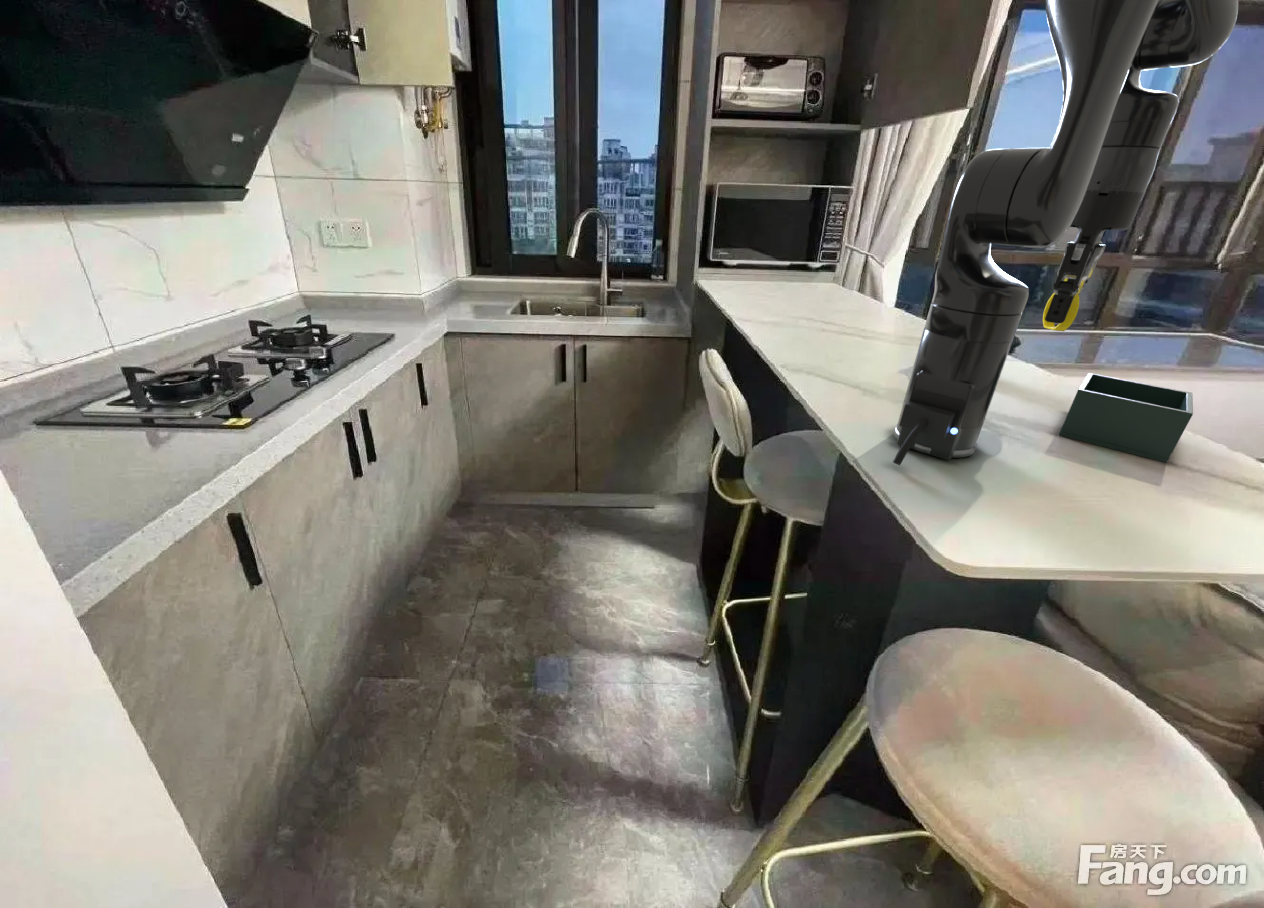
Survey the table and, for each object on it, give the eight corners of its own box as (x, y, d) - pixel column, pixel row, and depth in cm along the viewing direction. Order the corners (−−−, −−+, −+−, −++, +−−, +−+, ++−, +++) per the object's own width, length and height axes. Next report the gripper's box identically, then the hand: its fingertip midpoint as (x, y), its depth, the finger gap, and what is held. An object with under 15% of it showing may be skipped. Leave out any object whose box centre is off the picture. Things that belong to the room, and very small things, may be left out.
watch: (1074, 335, 75) (1092, 291, 73) (1052, 333, 76) (1069, 290, 73) (1053, 326, 81) (1069, 285, 78) (1033, 324, 81) (1048, 283, 78)
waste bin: (1166, 462, 67) (1193, 413, 64) (1058, 435, 74) (1078, 389, 71) (1168, 437, 75) (1192, 392, 72) (1070, 414, 81) (1088, 372, 78)
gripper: (1079, 190, 77) (1035, 309, 85) (1065, 185, 68) (1016, 320, 75) (1147, 192, 73) (1094, 318, 80) (1143, 187, 63) (1083, 331, 70)
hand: (1057, 319), depth 77 cm, fingers closed on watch, 5 cm apart
